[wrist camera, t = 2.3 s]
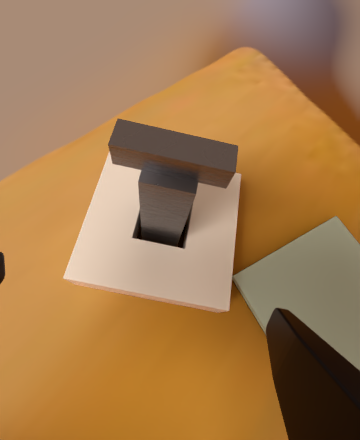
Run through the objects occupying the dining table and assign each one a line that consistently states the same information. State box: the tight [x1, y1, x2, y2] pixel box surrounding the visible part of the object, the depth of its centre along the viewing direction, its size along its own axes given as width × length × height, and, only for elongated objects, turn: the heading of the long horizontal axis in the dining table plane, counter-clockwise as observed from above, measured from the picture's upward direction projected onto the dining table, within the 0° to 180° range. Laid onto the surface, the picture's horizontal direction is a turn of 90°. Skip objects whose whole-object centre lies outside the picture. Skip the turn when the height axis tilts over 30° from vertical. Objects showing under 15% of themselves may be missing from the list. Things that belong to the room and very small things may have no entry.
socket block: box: [63, 152, 241, 313], centre depth 21 cm, size 12×12×3 cm
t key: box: [108, 119, 238, 247], centre depth 17 cm, size 3×6×12 cm, turn 80°
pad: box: [232, 216, 360, 370], centre depth 21 cm, size 13×13×1 cm
